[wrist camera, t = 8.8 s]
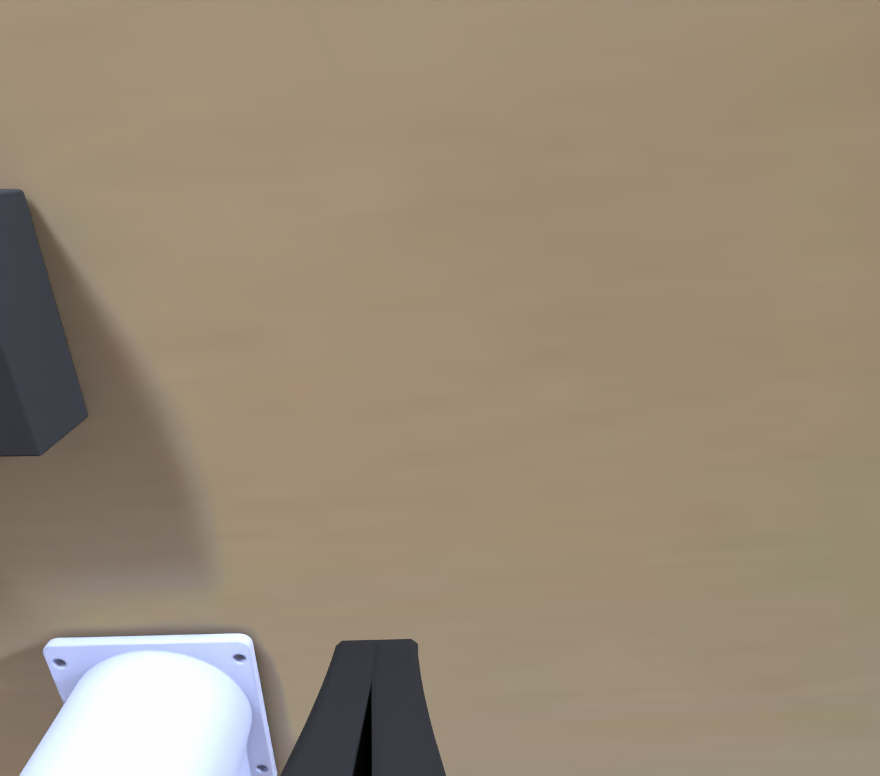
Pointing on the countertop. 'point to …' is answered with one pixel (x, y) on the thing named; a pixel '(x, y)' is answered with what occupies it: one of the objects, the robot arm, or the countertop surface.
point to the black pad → (31, 343)
